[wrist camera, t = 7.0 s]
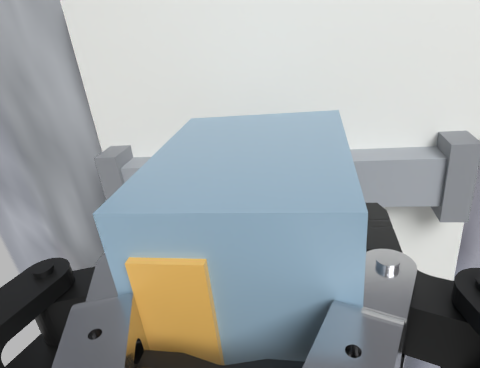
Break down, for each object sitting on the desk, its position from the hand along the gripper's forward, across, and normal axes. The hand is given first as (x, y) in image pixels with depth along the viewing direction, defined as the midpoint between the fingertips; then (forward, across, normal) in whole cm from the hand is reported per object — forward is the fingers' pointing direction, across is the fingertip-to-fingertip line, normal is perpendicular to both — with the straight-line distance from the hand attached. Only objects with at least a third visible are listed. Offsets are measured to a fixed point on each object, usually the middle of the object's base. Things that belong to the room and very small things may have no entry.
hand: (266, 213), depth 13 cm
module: (+1, 0, 0) cm, 1 cm away
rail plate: (+4, 0, 0) cm, 4 cm away
